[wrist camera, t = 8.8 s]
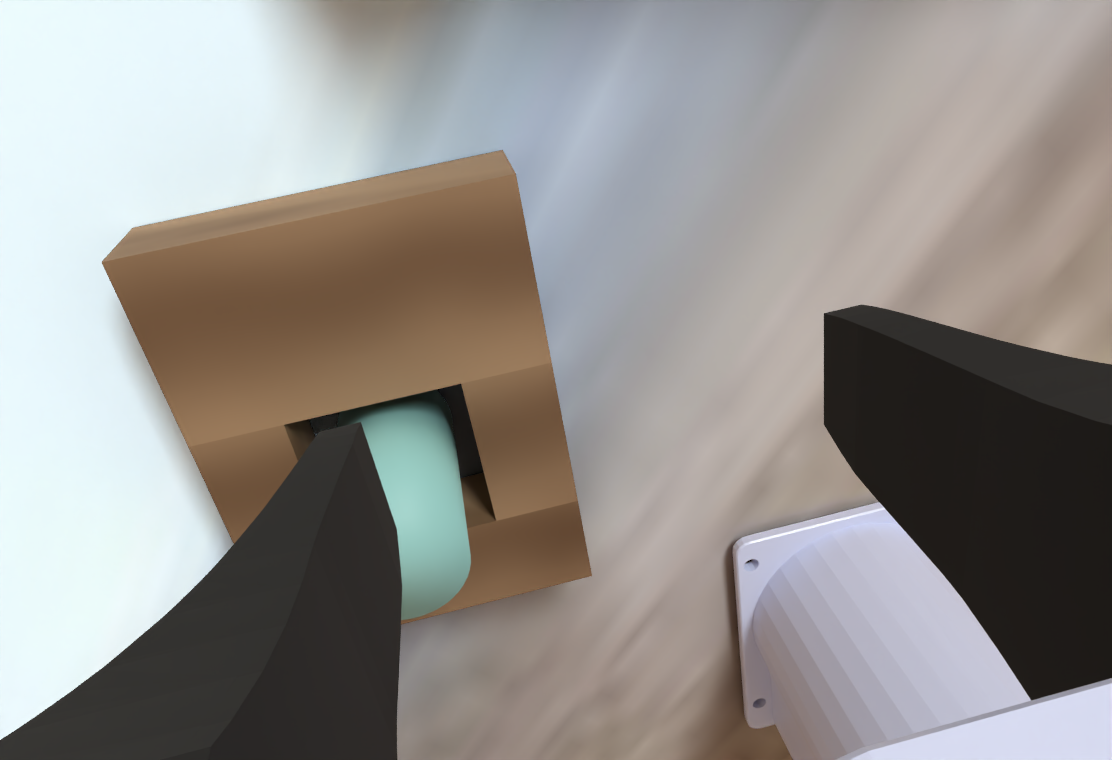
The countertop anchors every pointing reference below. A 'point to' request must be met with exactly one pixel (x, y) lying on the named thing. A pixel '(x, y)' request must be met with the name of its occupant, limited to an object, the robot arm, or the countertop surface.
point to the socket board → (365, 346)
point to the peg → (420, 494)
